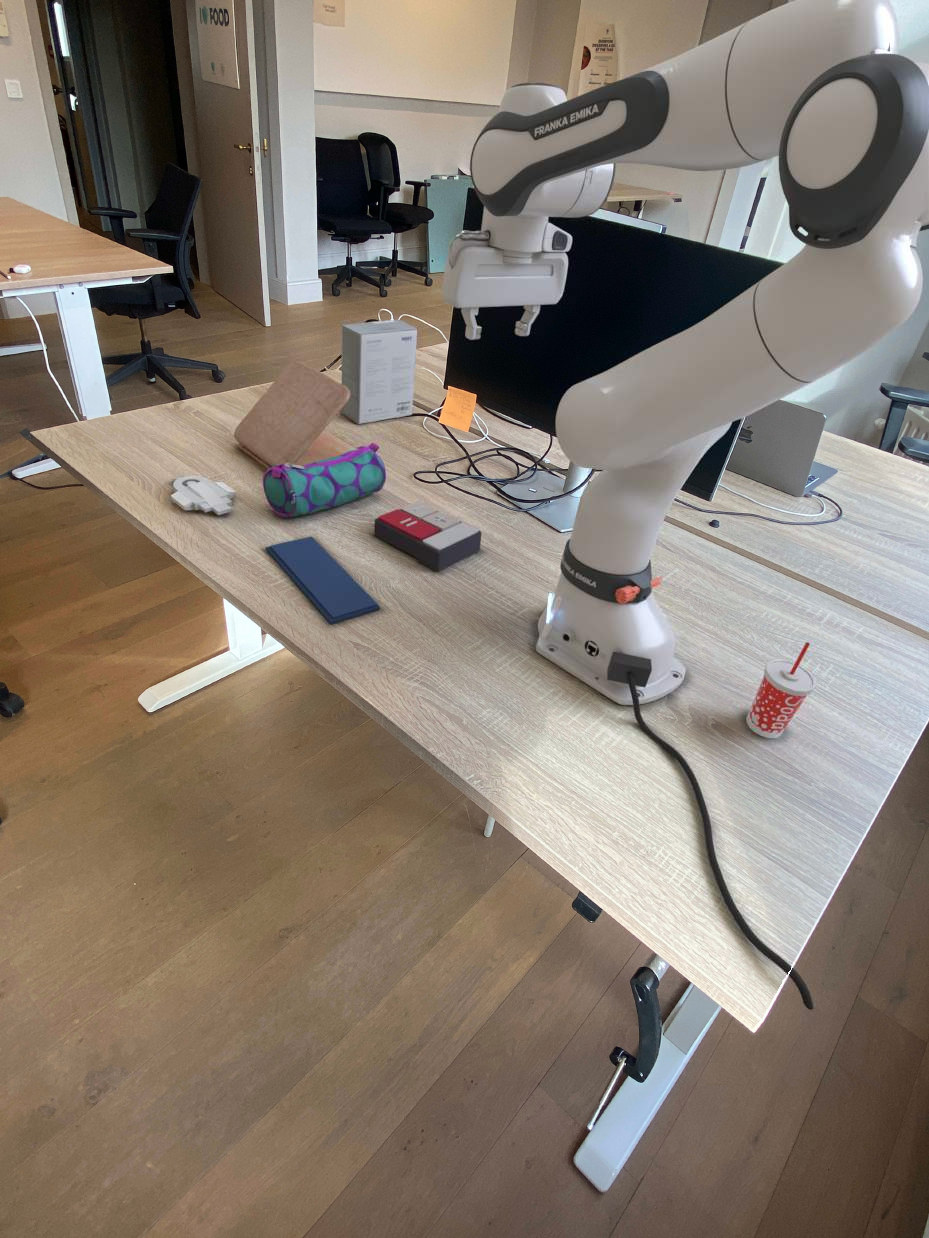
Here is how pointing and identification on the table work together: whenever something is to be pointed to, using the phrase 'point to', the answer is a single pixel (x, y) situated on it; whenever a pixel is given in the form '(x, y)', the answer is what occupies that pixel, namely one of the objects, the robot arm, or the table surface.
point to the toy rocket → (202, 494)
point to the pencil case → (324, 482)
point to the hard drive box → (378, 369)
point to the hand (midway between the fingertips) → (497, 336)
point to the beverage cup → (780, 695)
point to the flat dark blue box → (322, 580)
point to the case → (295, 419)
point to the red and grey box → (428, 535)
